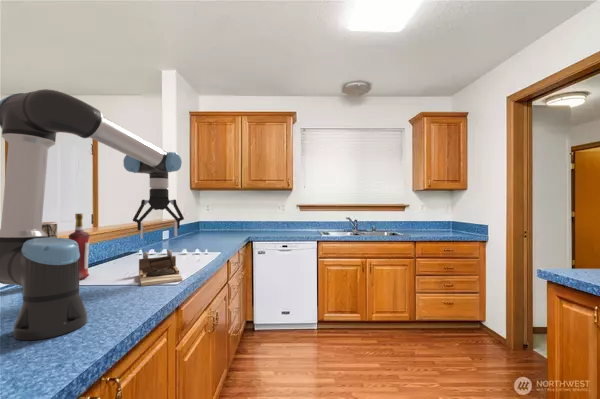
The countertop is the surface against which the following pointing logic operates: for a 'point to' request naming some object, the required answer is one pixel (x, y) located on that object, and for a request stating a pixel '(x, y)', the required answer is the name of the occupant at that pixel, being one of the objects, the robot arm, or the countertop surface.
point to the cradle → (145, 268)
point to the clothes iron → (160, 271)
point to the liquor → (81, 246)
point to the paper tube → (50, 229)
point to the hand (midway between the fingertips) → (159, 237)
